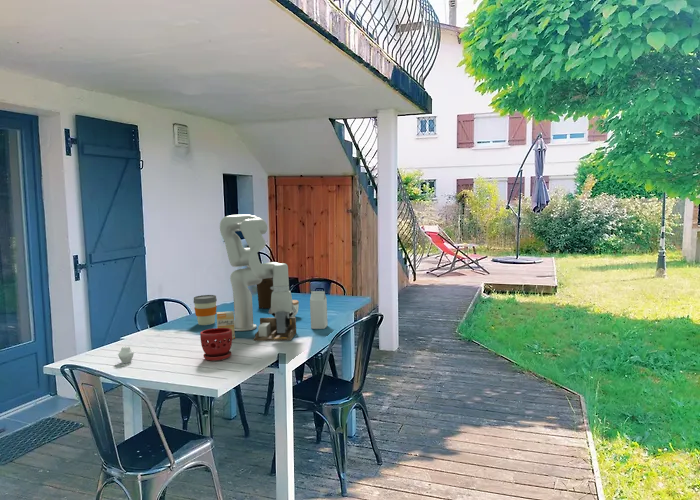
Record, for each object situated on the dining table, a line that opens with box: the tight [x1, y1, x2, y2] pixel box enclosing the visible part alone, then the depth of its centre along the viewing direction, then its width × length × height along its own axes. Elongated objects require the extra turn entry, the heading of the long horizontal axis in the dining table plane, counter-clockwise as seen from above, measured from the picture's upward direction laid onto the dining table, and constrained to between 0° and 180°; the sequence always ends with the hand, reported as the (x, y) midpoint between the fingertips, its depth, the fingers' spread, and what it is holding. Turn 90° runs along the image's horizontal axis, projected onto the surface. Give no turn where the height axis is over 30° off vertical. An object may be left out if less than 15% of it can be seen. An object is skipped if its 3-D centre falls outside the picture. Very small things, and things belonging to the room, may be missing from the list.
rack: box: [253, 316, 297, 342], centre depth 251 cm, size 18×14×8 cm
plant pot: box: [199, 327, 233, 362], centre depth 218 cm, size 13×13×12 cm
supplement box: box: [216, 310, 236, 340], centre depth 251 cm, size 8×5×13 cm, turn 105°
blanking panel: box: [276, 311, 290, 333], centre depth 250 cm, size 4×10×10 cm, turn 175°
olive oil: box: [256, 277, 274, 309], centre depth 327 cm, size 11×11×25 cm
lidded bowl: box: [290, 299, 300, 317], centre depth 295 cm, size 13×13×11 cm
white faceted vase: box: [117, 345, 135, 364], centre depth 217 cm, size 6×6×7 cm
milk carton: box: [309, 290, 329, 330], centre depth 266 cm, size 7×7×19 cm
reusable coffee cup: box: [193, 294, 217, 326], centre depth 287 cm, size 13×13×15 cm
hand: (283, 325), depth 250 cm, fingers closed on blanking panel, 4 cm apart
